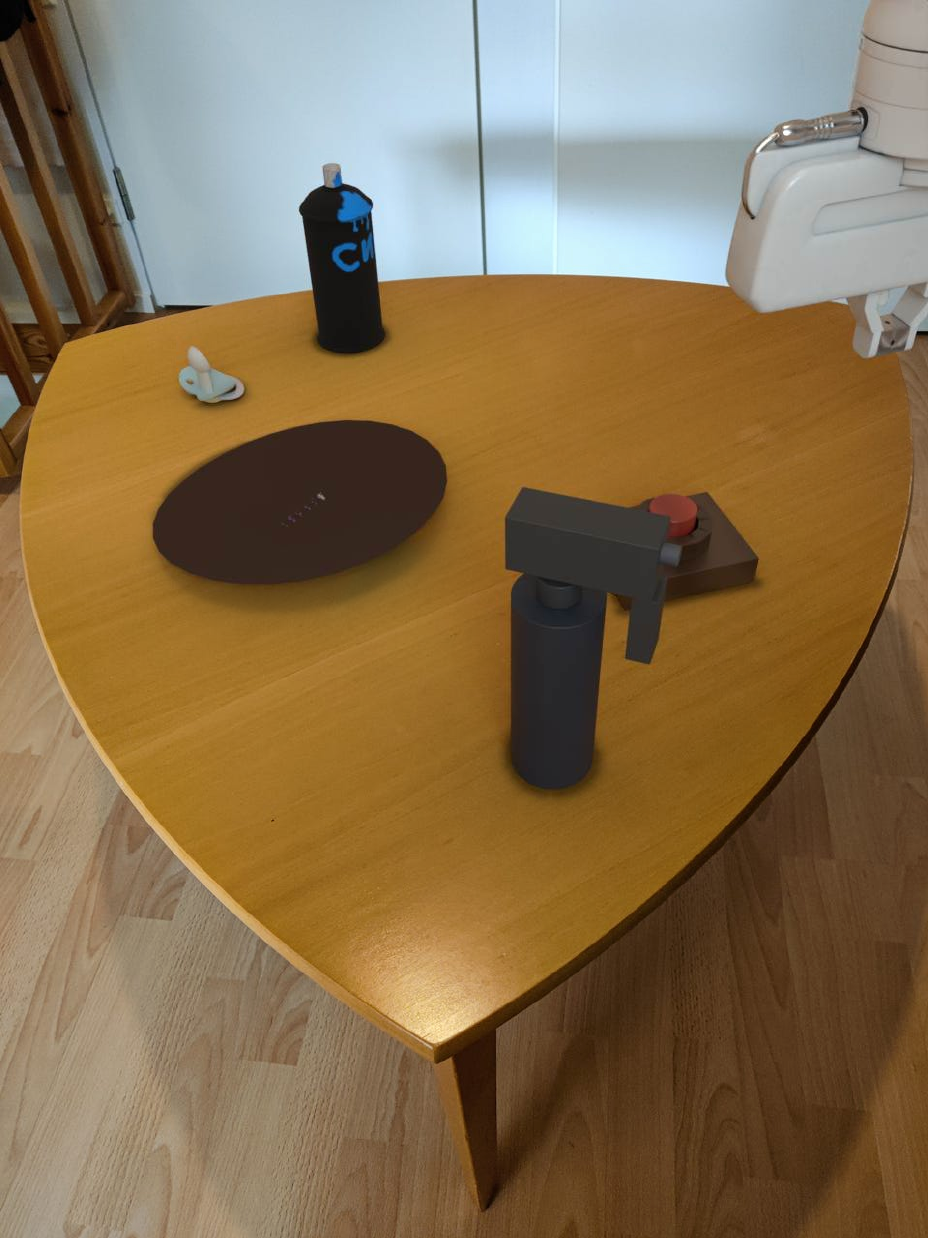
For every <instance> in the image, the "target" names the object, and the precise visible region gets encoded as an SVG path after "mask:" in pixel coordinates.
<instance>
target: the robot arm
mask: <svg viewBox="0 0 928 1238" xmlns="http://www.w3.org/2000/svg"><path fill="white" fill-rule="evenodd" d="M860 28H861V29H860V33H859V38H858V39H859V40H858V44H857V49H856V54H855V60H854V66H853V71H852V78H851V82H850V83H851V84H850V89H849V93H848V94H849V95H848V99H847V103H846V104H847V105H846V110H845V111H840V112H834V113H830V114H829V113H828V114H826V115H822V116H819V117H816V118H811V119H801V118H799V119H798V118H797V119H791V120H787V121H783V122H782V123H779V124H777V125H776V126H775V127H774V129H773V132H772V133H770V134H768V135H766V136H765V137H763V138H762V139H761V140H760V141H759V142H758V143H757V144H756V145H755V146H754V148H752V150H750V151H749V153H748V154H747V157H746V159H745V162H744V165H743V172H742V183H741V189H740V195H741V196H740V198H741V200H740V202H739V205H738V209H737V214H736V217H735V221H734V225H733V230H732V234H731V238H730V243H729V247H728V253H727V258H726V263H725V271H724V274H725V275H724V277H725V280H726V283H727V285H728V286H729V288H730V289H731V291H733V293H734V294H735V295H736V296H737V297H738V298H739V299H740V300H741V301H742V302H743V303H744V304H745V305H747V306H748V307H749V308H750V309H752V310H753V311H755V312H757V313H759V314H769V313H770V314H771V313H776V312H779V311H785V310H790V309H795V308H801V307H807V306H812V305H816V304H817V305H818V304H822V303H827V302H832V301H837V300H838V301H839V300H843V299H845V300H846V302H847V304H848V305H847V306H848V308H849V309H850V312H851V314H852V317H853V320H854V321H855V322H856V323H855V327H854V332H853V337H852V340H851V343H852V345H851V346H852V349H853V351H854V352H855V353H856V354H857V355H859V356H860V357H861V358H862V359H864V360H866V359H870V358H871V359H872V358H876V357H880V356H881V357H882V356H885V355H889V354H895V353H900V352H905V351H909V350H911V349H912V348H913V347H914V343H915V340H916V336H917V331H918V327H919V325H921V324H922V323H923V322H924V320H925V319H926V318H927V317H928V0H870V2H869V4H868V7H867V8H866V11H865V13H864V15H863V19H862V23H861V27H860ZM772 143H774V144H775V145H771V144H772ZM906 287H907V288H906ZM900 288H906V289H905V290H904V292H903V294H902V296H901V297H900V299H899V300H898V302H897V303H896V304H895V306H894V308H893V309H892V311H891V312H890V313H887V314H882V315H880V313H879V310H878V307H884V306H886V305H887V304H888V300H889V297H890V293H891V290H895V289H900Z"/></svg>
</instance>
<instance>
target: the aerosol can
mask: <svg viewBox="0 0 928 1238" xmlns="http://www.w3.org/2000/svg"><path fill="white" fill-rule="evenodd" d="M341 167H342V166H341V164H339V163H337V162H335V163H334V162H330V163H329V162H328V163H325V164H323V165H322V167H321V168H322V169H321V170H322V176H323V185H320V186H318V187H316V188H315V189H313V190H311V191H310V192H309V193H308V194H307V195H306V197H305V198H304V200H303V201H302V202H300V204H299V206H298V212H299V215H300V216H301V220H302V226H303V232H304V240H305V246H306V247H305V248H306V253H307V260H308V267H309V275H310V281H311V289H312V296H313V302H314V303H313V304H314V310H315V317H316V325H317V331H318V333H317V339H316V340H317V342H318V344H319V345H320V346H321V347H322V348H323V349H324V350H327V351H330V352H332V353H337V354H356V353H362V352H365V351H369V350H371V349H374V348H375V347H378V346H379V345H380V344H381V343H382V342H383V341H384V340H385V337H386V330H385V328H384V326H383V319H382V308H381V298H380V288H379V287H380V286H379V278H378V277H379V275H378V266H377V255H376V244H375V234H374V225H373V212H372V211H373V208H374V201H373V200H372V199H371V197H369V196H368V195H367V194H366V193H364V192H363V191H362V190H361V189H360V188H358V187H356V186H354V185H351V184H347V183H343V177H342V169H341Z"/></svg>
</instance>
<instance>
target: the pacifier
mask: <svg viewBox="0 0 928 1238" xmlns="http://www.w3.org/2000/svg"><path fill="white" fill-rule="evenodd" d="M186 354H187V355H186V356H187V361H188V363H189V365H187V366H185V367H184V368H183V369H181V371H179V374H178V381H179V384H180V386H181V388H182V389H183V390H184V391H185V392H187V393H189V394H191V395H194V396H196V397H197V400H199V402H201V401H203V402H206V403H209V404H211V403H213V404H215V403H218V402H221V401H231V400H232V401H233V400H235V399H238V398H240V397H241V396H242V395H243V394H245V393H244V392H245V386H244V384H243V382H242V381H241V380H240V379H238V378H237V377H235V376H232V375H229V374H226V373H223V372H221V371H219V370H217V369H215V368H212V367H211V365H210V363H209V361H208V359H207V358H206V357H205V355H204V354H203V352H202V351H200V349H199V348H197V347H196V346H193V345H191V346H190V347H189V349H188V350H187V353H186ZM188 382H192V384H190V383H188ZM233 388H235V390H233V391H232V392H229V391H231V390H232V389H233Z"/></svg>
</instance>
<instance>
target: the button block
mask: <svg viewBox="0 0 928 1238" xmlns="http://www.w3.org/2000/svg"><path fill="white" fill-rule="evenodd" d="M684 496H685V497H687V498H689V499H691V500H692V501H693V502H694V503H695V505H696V507H697V515H696V522H695V527H694V529H693V531H692V532H691V533H690V534H688V535H686V536H681V537H668V542H667V543H669V544H674V545H679V546H682V552H681V557H680V561H679V564H678V566H677V567H676V566H671V565H667V564H664V569H663V572H662V575H661V577H663V578H667V585H666V592H665V599H664V602H668V601H673V600H677V599H681V598H686V597H691V596H695V595H696V596H697V595H700V594H705V593H709V592H714V591H718V590H719V591H720V590H723V589H728V588H733V587H737V586H741V585H746V584H750V583H754V582H755V578H756V573H757V570H758V564H759V560H760V559H759V556H758V554H756V552H755V550H753V548H752V547H751V546H750V545H749V544H748V542H747V541H746V540H745V538H744V537H743V536H742V534H741V533H740V531H738V529H737V528H736V526H735V525H734V524H733V522H732V521H731V520H730V519H729V518H728V516H727V515H726V514H725V512H724V511H723V509H721V508H720V506H719V504H718V503H717V502H716V501H715V500H714V498H713V497H712V496H711V494H710V493H709V492H708V491H704V492H700V493H694V494H690V495H689V494H688V495H684ZM654 498H655V497H652V498H651V497H650V498H647V499H645V500H643V501H642V502H640V503H639V504H637V505H634V506H630V507H628V508H632V509H637V510H642V511H647V512H649V507H650V503H651V502H652V500H653V499H654ZM614 595H615V597H616V598H617V599H618V602H619V603H620V605H621V606H622V609H623V610H624V611H627V610H630V609H631V600H632V598H631V597H626V596H622V595H618V594H614Z"/></svg>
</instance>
